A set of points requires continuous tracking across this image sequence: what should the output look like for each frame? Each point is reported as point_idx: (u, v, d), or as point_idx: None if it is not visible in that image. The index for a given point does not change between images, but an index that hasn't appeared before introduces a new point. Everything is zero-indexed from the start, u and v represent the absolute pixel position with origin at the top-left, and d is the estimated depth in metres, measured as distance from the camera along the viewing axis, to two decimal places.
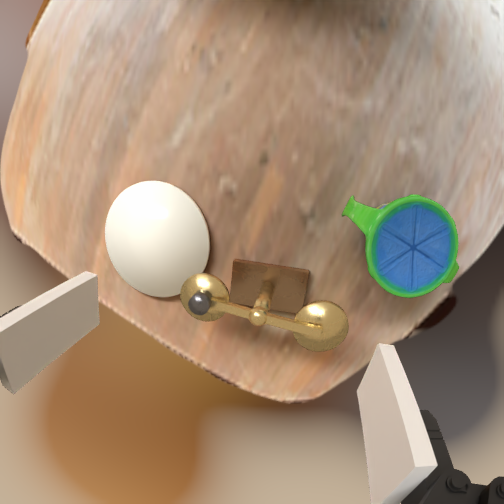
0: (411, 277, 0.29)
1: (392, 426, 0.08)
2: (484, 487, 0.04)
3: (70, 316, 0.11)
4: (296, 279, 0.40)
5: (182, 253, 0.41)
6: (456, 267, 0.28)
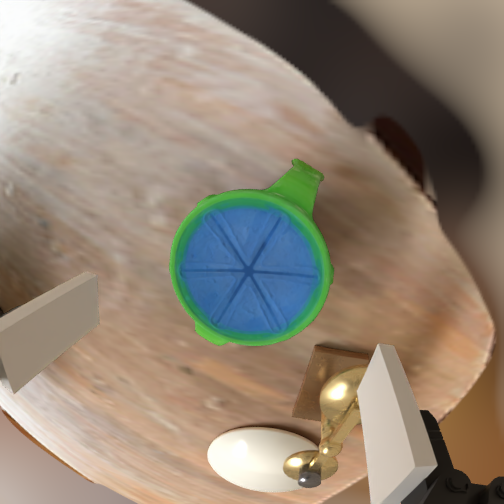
0: (296, 275, 0.19)
1: (392, 426, 0.08)
2: (484, 487, 0.04)
3: (70, 316, 0.11)
4: (321, 364, 0.30)
5: (279, 449, 0.34)
6: (285, 182, 0.18)
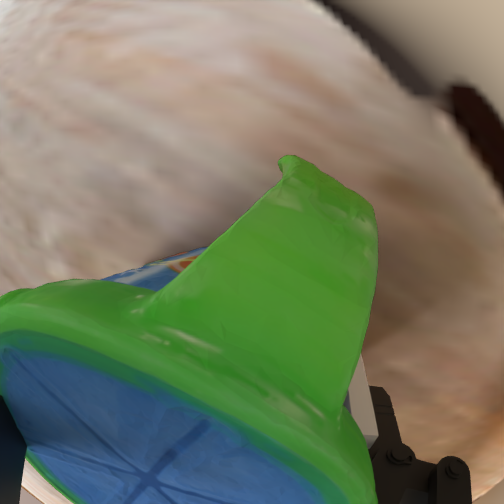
0: None
1: None
2: (432, 467, 0.06)
3: None
4: None
5: None
6: (226, 272, 0.04)
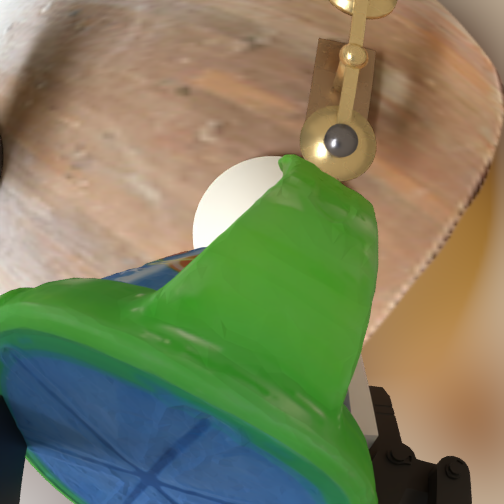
0: None
1: None
2: (432, 467, 0.06)
3: None
4: (327, 52, 0.25)
5: None
6: (226, 271, 0.04)
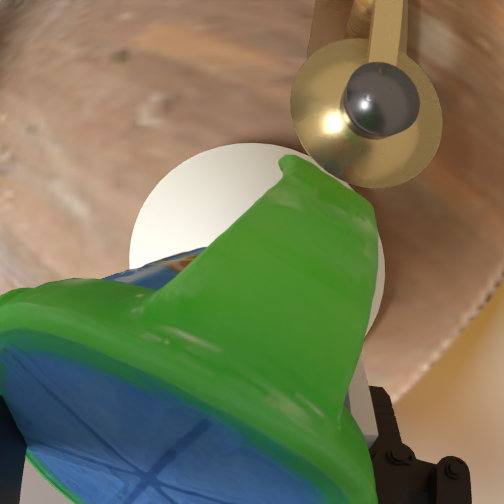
0: None
1: None
2: (432, 467, 0.06)
3: None
4: None
5: None
6: (226, 271, 0.04)
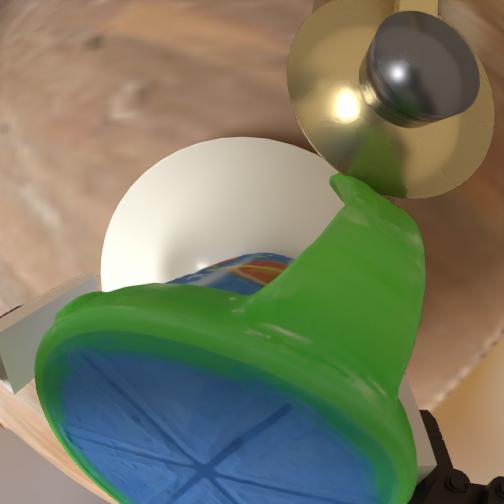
0: (321, 499, 0.05)
1: None
2: (484, 487, 0.04)
3: None
4: None
5: (277, 220, 0.14)
6: (316, 277, 0.04)
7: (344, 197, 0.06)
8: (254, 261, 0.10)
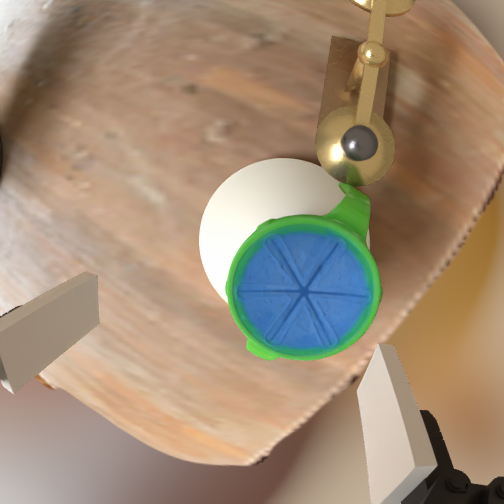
0: (349, 295, 0.20)
1: (392, 426, 0.08)
2: (484, 487, 0.04)
3: (70, 316, 0.11)
4: (341, 50, 0.24)
5: (304, 199, 0.28)
6: (342, 209, 0.19)
7: (346, 190, 0.20)
8: None
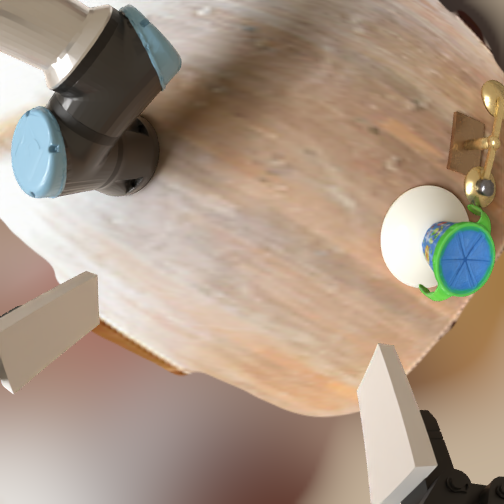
0: (482, 260, 0.33)
1: (392, 426, 0.08)
2: (484, 487, 0.04)
3: (70, 316, 0.11)
4: (461, 122, 0.37)
5: (441, 211, 0.42)
6: (482, 219, 0.32)
7: (478, 210, 0.34)
8: None
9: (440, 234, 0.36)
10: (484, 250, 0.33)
